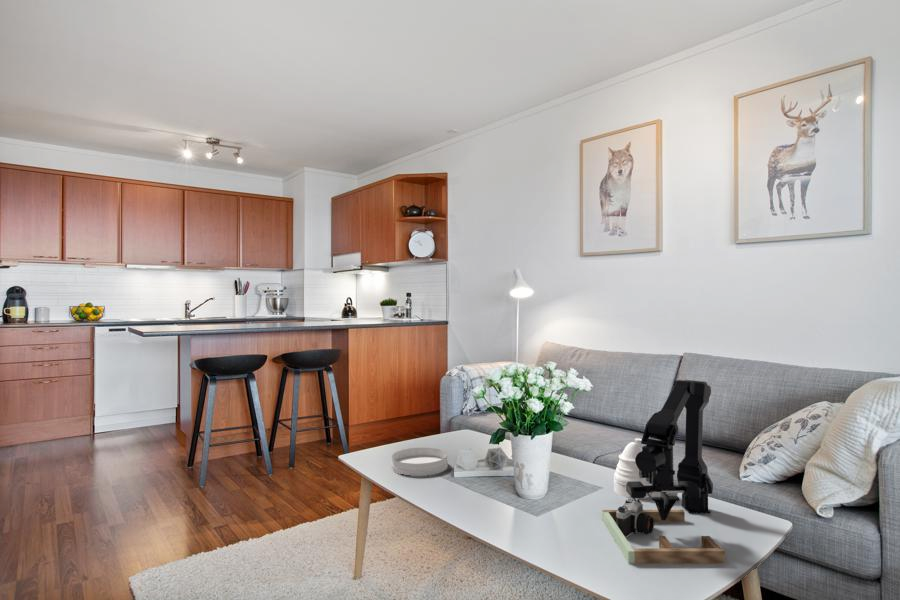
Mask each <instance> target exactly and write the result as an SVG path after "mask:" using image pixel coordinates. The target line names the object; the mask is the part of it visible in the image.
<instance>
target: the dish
mask: <svg viewBox="0 0 900 600" xmlns="http://www.w3.org/2000/svg"><path fill="white" fill-rule="evenodd" d="M448 467H449V465H448V454H447V452H446V451H445V450H442V449H439V448H435V447H434V448H433V447H412V448H411V447H410V448H406V449H401V450H398V451H396V452H394V453H393V454H391V470H392V469H393V470H392V472H393V471H395V472H397V473H400V474H404V475H403V476H405V475H411V476H410V477H427V475H429V476H434V475H438V474H440V473H442V472H445V471H446V470H447V469H448ZM395 472H394V473H395ZM397 473H396V474H397ZM400 474H399V475H400Z"/></svg>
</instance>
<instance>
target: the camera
mask: <svg viewBox="0 0 900 600" xmlns="http://www.w3.org/2000/svg"><path fill="white" fill-rule="evenodd" d="M617 510H618V511H617V516H616V518H617V522H616V524H617V526H618V527H619V529H620V530H621V532H622V533H623V535H624V536H625V538H626V537H627V538H628V537H629V536H631V535H632V534H635V535H637V534H638V535H639V534H645V535H651V534H652V533H653V530H654V527H655V525H654V524H655V522H654V520H653V518H652V517H651V516H650V515H645V514H644V513H643V511H644V510H645V509H644V504H643V503H642V500H640V499H638V498H628V497H627V499H625V502H624V504H623V506H619V507H618V508H617ZM627 538H626V539H627Z"/></svg>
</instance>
